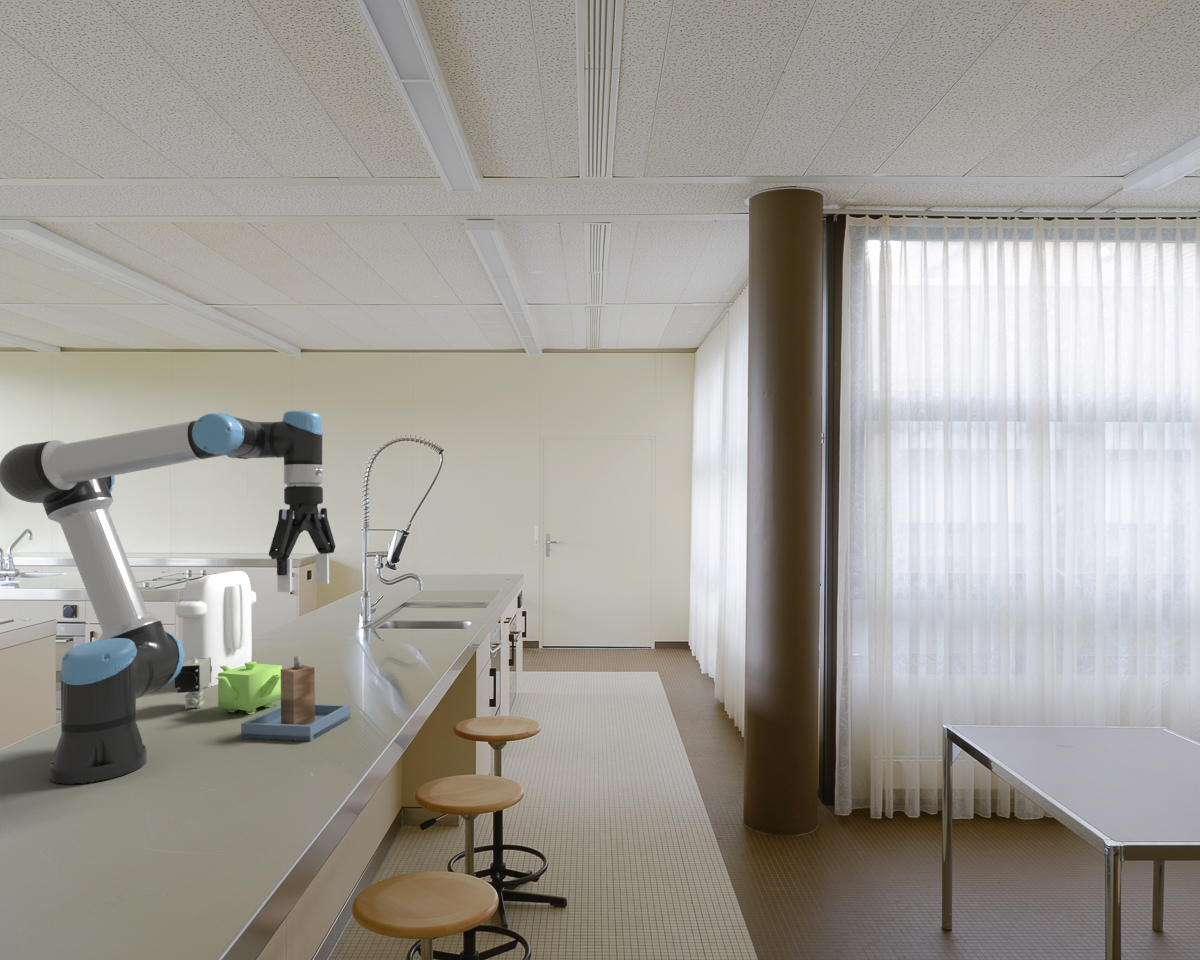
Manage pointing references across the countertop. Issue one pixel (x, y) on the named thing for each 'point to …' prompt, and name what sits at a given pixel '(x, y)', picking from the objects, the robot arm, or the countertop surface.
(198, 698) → the pneumatic valve
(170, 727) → the countertop surface
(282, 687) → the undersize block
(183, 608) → the toaster
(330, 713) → the tray
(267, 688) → the kettle
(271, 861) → the countertop surface
